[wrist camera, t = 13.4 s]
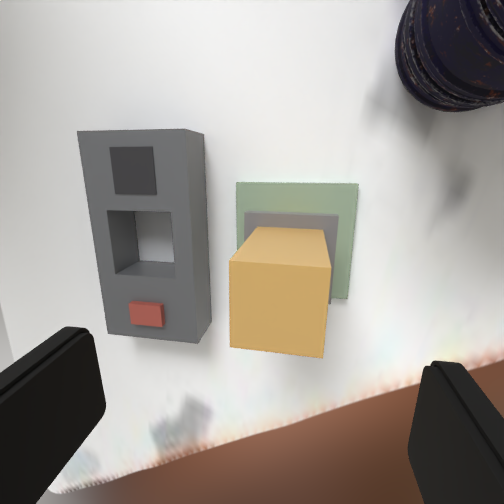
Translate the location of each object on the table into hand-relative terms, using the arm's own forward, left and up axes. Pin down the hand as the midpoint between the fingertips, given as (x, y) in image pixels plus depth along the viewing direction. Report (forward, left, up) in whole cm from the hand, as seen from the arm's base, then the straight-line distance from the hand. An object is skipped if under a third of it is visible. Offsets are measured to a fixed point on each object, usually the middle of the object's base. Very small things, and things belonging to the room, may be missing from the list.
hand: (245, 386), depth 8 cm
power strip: (0, -12, -19) cm, 23 cm away
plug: (0, 0, -19) cm, 19 cm away
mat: (0, 0, -19) cm, 19 cm away
